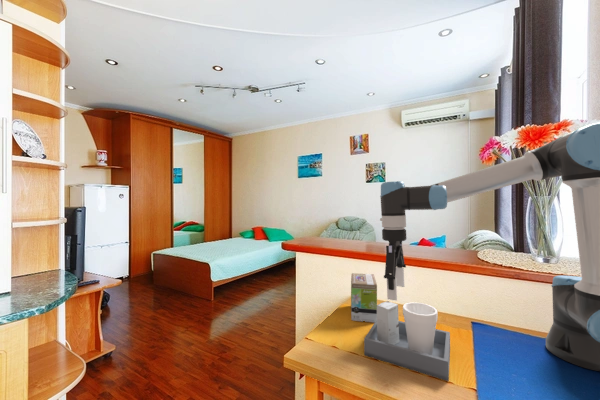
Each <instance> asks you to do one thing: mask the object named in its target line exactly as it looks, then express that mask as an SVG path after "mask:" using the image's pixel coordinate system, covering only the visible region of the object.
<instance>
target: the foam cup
mask: <svg viewBox="0 0 600 400" xmlns="http://www.w3.org/2000/svg"><path fill="white" fill-rule="evenodd" d="M402 315H403V320H404V322H405V326H406V333H407V340H408V346H409V349H410V350H414V351H418V352H421V353H425V354H429V355H432V352H433V345H434V337H435V329H436V327H437V322H438V316H439V315H438V310H437V308H435V306H433V305H430V304H427V303H423V302H416V301H414V302H413V301H412V302H406V303H404V304H403V306H402Z"/></svg>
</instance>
